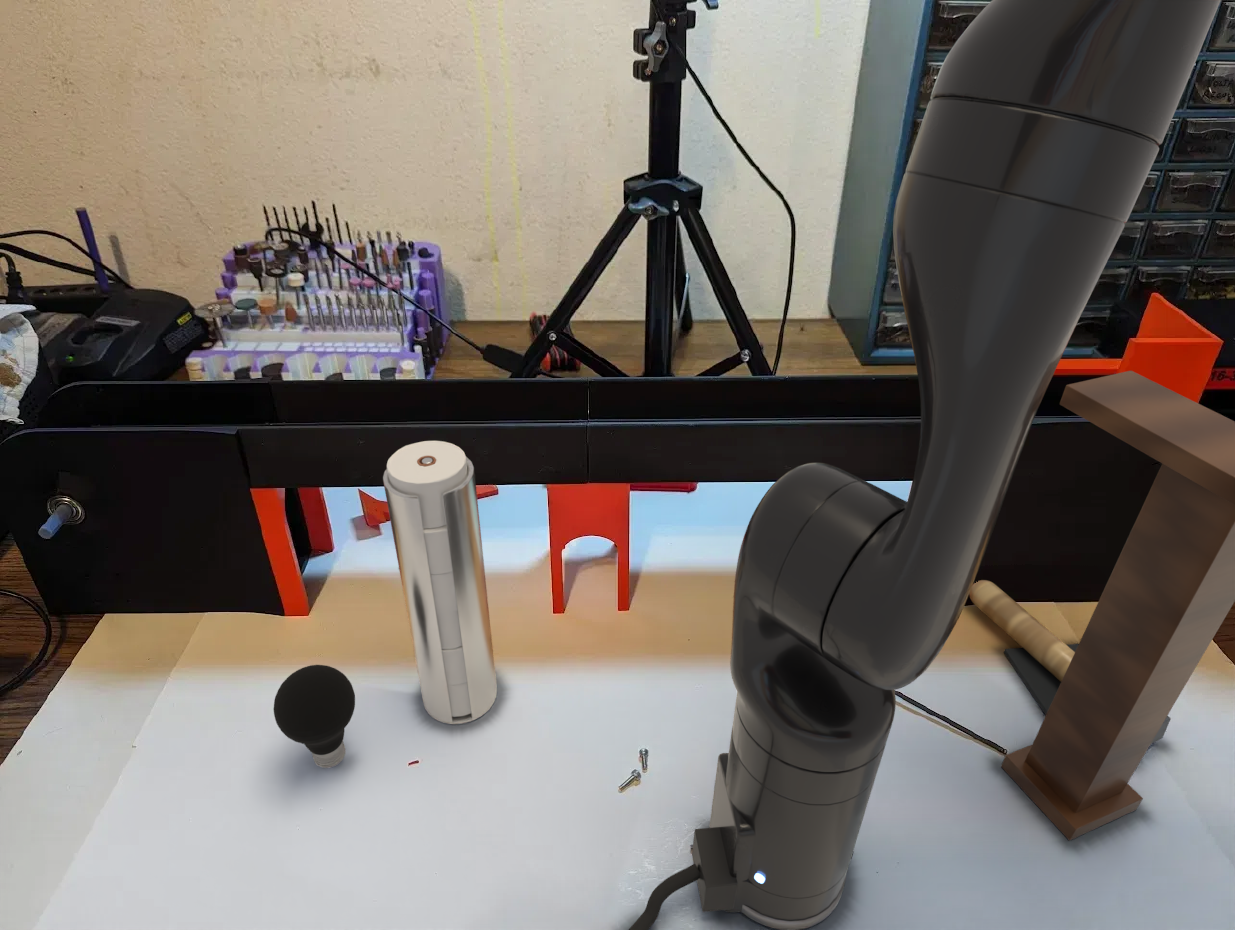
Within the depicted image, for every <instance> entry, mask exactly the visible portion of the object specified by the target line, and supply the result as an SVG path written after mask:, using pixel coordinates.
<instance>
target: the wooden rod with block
mask: <svg viewBox="0 0 1235 930" xmlns="http://www.w3.org/2000/svg"><path fill="white" fill-rule="evenodd" d="M975 582H976V583H975ZM975 582H973V585H972V588H971V590H970V593H969V595H968V597H969V599H970V601H971V602H972V604H973V605H974V606H975V607H977V608H978V609H979V610H980V611H981V612H982V613H983V614H985V615H986V616H987V617H988V618H989V619H990V620H991V621H992V622H994V624H996V625H997V626H998V627H999V628H1000V629H1001V630H1002V631H1004V633H1006V634H1007V635H1008V636H1009V637H1010V638H1011V639H1012V640H1013V641H1015V642H1016V643H1017V644H1018V645H1019V646H1021V648H1024V649H1025V650H1026V651H1027V652H1028V653H1029V654H1030V655H1032V656H1033V657H1034V658H1035V659H1036V660H1037V661H1038V662H1039V663H1040V664H1042V665H1043V666H1044V667H1045V668H1046V669H1047V670H1048V671H1049V672H1050V673H1052V674H1053V675H1054V676H1055V677H1056V678H1057V679H1058V680H1059V681H1060V682H1062V679H1063V677H1064V675H1065V673H1066V671H1067V669H1068V666H1069V664H1070V662H1071V660H1072V658H1073V656H1074V654H1075V652H1074V651H1073V650H1072V649H1070V648H1069V647H1068V646H1067V645H1068V644H1066V643H1065V642H1063V641H1062V640H1061V639H1060V638H1059V637H1058V636H1056V635H1055V634H1054V633H1053V632H1051V630H1050V629H1049V628H1048V627H1046V626H1045V625H1043V623H1041V622H1040V621H1039V620H1038V619H1037V618H1035V617H1034V616H1033V615H1032V614H1031V613H1030V612H1028V611H1027V610H1026V609H1025V608H1024V607H1022V605H1020V604H1019V603H1018V602H1017V601H1015V600H1014V599H1013V598H1012V597H1011V596H1009V594H1007V592H1005V591H1003V590H1002V589H1001V588H1000V587H999V586H998V585H997V584H996V583H994V582H992V581H990V580H987V579H981V580H978V582H977V581H975ZM1171 720H1172V719H1171V717H1170V716H1169V715H1167V717H1166V719H1165V721H1164V722H1163V724H1162V726H1161V727H1160V729H1159V731H1158V732H1157V734H1156V736H1155V738H1154V739H1153V741H1152V743H1151V744H1150V746H1151V745H1153V744H1155V743H1156V742H1158V741H1160V740H1162V739H1163V738H1164V736H1165V733H1166V731H1167V728H1168V726H1169V724H1170V722H1171Z"/></svg>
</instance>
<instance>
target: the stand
mask: <svg viewBox="0 0 1235 930" xmlns="http://www.w3.org/2000/svg"><path fill="white" fill-rule="evenodd" d="M1059 405H1060V406H1062V407H1063V408H1065V409H1067V410H1069V411H1070V412H1072V413H1074V414H1076V415H1077V416H1079V417H1081V418H1082V419H1083V420H1086V421H1088V422H1089V423H1091V424H1093V425H1095V426H1096V427H1098V428H1100V429H1101V430H1103V431H1105V432H1106V433H1109V434H1110V435H1112V436H1113V437H1116V438H1117V439H1119V440H1120V441H1122V442H1124V443H1126V444H1127V445H1129V446H1131V447H1133V448H1135V449H1136V450H1138V451H1140V452H1142V453H1143V454H1145V455H1147V456H1148V457H1150V458H1152V459H1153V460H1155V461H1157V462H1158V463H1161V466H1160V467H1159V469H1158V471H1157V474H1156V476H1155V479H1154V480H1153V483H1152V485H1151V487H1150V489H1149V491H1148V494H1147V496H1146V498H1145V500H1144V501H1143V504H1142V506H1141V509H1140V510H1139V513H1138V515H1137V517H1136V520H1135V521H1134V524H1133V526H1132V528H1131V530H1130V532H1129V535H1128V536H1127V538H1126V541H1125V543H1124V545H1123V548H1122V550H1121V552H1120V554H1119V556H1118V558H1117V560H1116V563H1115V565H1114V567H1113V570H1112V572H1111V573H1110V576H1109V578H1108V580H1107V582H1106V584H1105V587H1104V589H1103V591H1102V592H1101V596H1100V597H1099V599H1098V602H1097V603H1096V606H1095V608H1094V611H1093V613H1092V614H1091V617H1090V619H1089V621H1088V623H1087V626H1086V628H1085V629H1084V632H1083V634H1082V636H1081V639H1080V641H1079V643H1078V644H1079V645H1078V647H1077V649H1076V651H1075V654H1074V656H1073V658H1072V660H1071V662H1070V664H1069V666H1068V669H1067V671H1066V673H1065V675H1064V677H1063V679H1062V682H1061V684H1060V686H1059V688H1058V690H1057V692H1056V695H1055V697H1054V699H1053V701H1052V703H1051V705H1050V708H1049V710H1048V712H1047V714H1046V715H1045V716H1044V718H1043V721H1042V723H1041V725H1040V727H1039V730H1038V732H1037V733H1036V736H1035V738H1034V740H1033V742H1032V744H1030V745H1027V746H1025V747H1022V748H1020V749H1017V750H1014V751H1013V752H1009V753H1008V754H1005V756H1004V758H1003V761H1002V763H1001V765H1000V767H1001V768H1002V769H1003V770H1004V772H1005V773H1006V774H1007V775H1008V776H1009V777H1010V778H1011V779H1012V780H1013V781H1014V782H1015V784H1016V785H1017V786H1018V787H1019V788H1020V789H1021V790H1022V791H1023V792H1024V793H1025V794H1026V796H1028V798H1029V799H1030V800H1031V801H1032V802H1033V803H1034V804H1035V805H1036V806H1037V807H1038V809H1040V810H1041V812H1042V813H1043V814H1044V815H1045V816H1046V817H1047V818H1048V819H1049V821H1051V823H1052V824H1053V825H1054V826H1055V827H1056V828H1057V829H1058V830H1059V831H1060V833H1062V834H1063V836H1064V837H1065V838H1066V839H1067V840H1068V841H1072V840H1075V839H1076V838H1078V837H1081V836H1083V835H1085V834H1088V833H1090V832H1092V831H1093V830H1095V829H1098V828H1100V827H1102V826H1104V825H1106V824H1109V823H1112V822H1113V821H1115V820H1117V819H1119V818H1121V817H1124V816H1127V815H1128V814H1130V813H1132V812H1135V811H1136V810H1138V808H1139V806H1140V805H1141V803H1142V801H1143V799H1144V797H1142V796H1141V794H1139V793H1138V792H1137V791H1136V790H1135V789H1134V788H1133V787H1132V786H1131V785H1130V784H1128V783H1129V782H1130V780H1131V779H1132V777H1133V775H1134V773H1135V772H1136V770H1137V768H1138V767H1139V765H1140V763H1141V761H1142V760H1143V758H1144V757H1145V755H1146V753H1147V751H1148V749H1149V748H1150V746H1151V745H1152V744H1151V743H1152V741H1153V739H1154V738H1155V736H1156V734H1157V732H1158V731H1159V729H1160V727H1161V726H1162V724H1163V722H1164V721H1165V719H1166V717H1167V716H1169V714H1170V713H1171V710H1172V709H1173V707H1174V705H1175V703H1176V702H1177V700H1178V699H1179V697H1180V695H1181V694H1182V692H1183V690H1184V688H1185V687H1186V685H1187V684H1188V681H1189V680H1190V678H1191V677H1192V675H1193V673H1194V672H1195V670H1196V668H1197V667H1198V665H1199V663H1200V662H1201V659H1202V658H1203V656H1204V655H1205V653H1206V651H1207V649H1208V648H1209V646H1210V644H1211V642H1212V641H1213V639H1214V638H1215V635H1216V634H1217V632H1218V631H1219V629H1220V627H1221V625H1222V624H1223V622H1224V621H1225V619H1226V617H1227V615H1228V614H1229V612H1230V610H1231V608H1232V607H1233V605H1234V603H1235V421H1234V420H1233V419H1230V418H1228V417H1226V416H1224V415H1222V414H1221V413H1219V412H1216V411H1215V410H1213V409H1211V408H1208V407H1206V406H1204V405H1202V404H1200V403H1198V402H1196V401H1194V400H1192V399H1190V398H1188V397H1186V396H1183V395H1182V394H1179V393H1177V392H1176V391H1174V390H1172V389H1170V388H1167V387H1165V386H1164V385H1162V384H1160V383H1158V382H1156V381H1153V380H1151V379H1149V378H1147V377H1145V376H1143V375H1141V374H1139V373H1137V372H1135V371H1133V370H1127V371H1122V372H1118V373H1113V374H1110V375H1104V376H1101V377H1096V378H1091V379H1087V380H1083V381H1078V382H1074V383H1069V384H1066V385H1065V387H1064V390H1063V392H1062V396H1061V399H1060V401H1059ZM1150 744H1151V745H1150Z"/></svg>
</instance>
